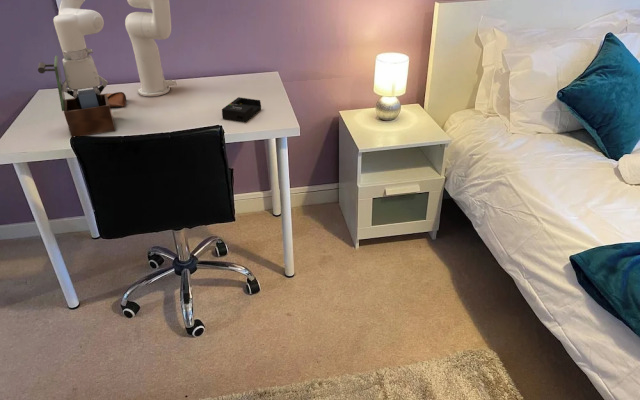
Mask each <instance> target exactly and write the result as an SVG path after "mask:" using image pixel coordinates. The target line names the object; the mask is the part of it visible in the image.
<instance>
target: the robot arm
mask: <svg viewBox="0 0 640 400" xmlns="http://www.w3.org/2000/svg"><path fill="white" fill-rule="evenodd" d="M84 2H86V0H60V4H59V8H58V15H55V16H54V17H53V20H52V21H53V26H54V28H55V32H56V35H57V39H58V42H59V45H60V49H61V52H62V56H63V58H62V67H63V73H64V77H65V80H64V81H63V82H62V84H63V85H62V91H64V93H66V94H68V95H69V96H71V97H72V98H75V100H76V104H77V106H79V107H80V109H82V107H81V104H80V100H79V97H78V91H79V90H87V89H94V90H95V92H96V97H97V101H98V105H99V106H101V103H102V99H101V95H100V94H102V92H103V91H104V89H105V88H106V87H107V86H108V84H109V82H108V80H106V79H105V78H104V77H102V76H101V75H99V72H98V69H97V66H96V63H95V61H94V58H93V56H92V55H91V54H94V52H93V49H92V48H88V47H87V44H86V39H85V36H87V35H96V34H98V33H99V32H102V30H103V28H104V25H105V21H104V18H103V16H102V14H100V13H99V12H98V11H97V10H93V9H85V8H81V7H82V5H83V3H84ZM126 2H127V3H128V5H129V6H130V7H132V8H134V9H144V10H145V9H146V10H151V12H148V11H147V12H145V11H134V12H130V13H129V14H127V15H126V17H125V21H124V25H125V30H126V32H127V34H128V36H129V40H130V42H131V46H132V49H133V53H134V60H135V65H136V69H137V73H138V77H139V81H140V85H141V86H140V87H139V88H138V90H137V92H138V95H140V96H143V97H158V96H162V95H163V96H164V95H165V94H167V93H169V92H170V91H171V89H170V86H177V80H173V79H166V78H165V76H164V71H163V65H162V61H161V60H162V59H161V56H160V55H161V54H160V50H159V49H160V48H159V46H158V43H157V42H156V41H155V40H160V41H161V40H167V39H169V37H170V36H171V34H172V16H171V5H170V0H126Z"/></svg>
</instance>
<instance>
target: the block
mask: <svg viewBox="0 0 640 400" xmlns="http://www.w3.org/2000/svg"><path fill="white" fill-rule="evenodd" d="M77 94H78V97H79V100H80V104H81V107H82V109H85V108H91V107H98V106H99V105H98V101H97V97H96V92H95V90H94V89H93V88H88V89H81V90H78V93H77Z"/></svg>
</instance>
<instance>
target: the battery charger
mask: <svg viewBox="0 0 640 400" xmlns="http://www.w3.org/2000/svg"><path fill="white" fill-rule="evenodd" d="M260 111H262V102H261V100H260V99H256V98H255V99H253V98H246V97H240V96H239V97H237V98H235V99H234V100H232V101H231V102H229V103H228V104H227V105H226V106H224V107H223V108H222V109H221V117H222V120H225V121H233V122H238V123H245V124H246V123H247V122H249V121H250V120H251V119H252V118H253V117H254V116H256V115H257V114H258V113H259V112H260Z"/></svg>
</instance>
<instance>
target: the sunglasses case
mask: <svg viewBox="0 0 640 400" xmlns="http://www.w3.org/2000/svg"><path fill="white" fill-rule="evenodd" d="M101 94H102V93H101ZM101 94H100V95H101ZM106 94H107V97H108V101H109V105H110V109H115V108H121V107H125V106H126V105H127V97H126V94H125V93H124V92H122V91H117V92H112V93H106Z"/></svg>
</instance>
